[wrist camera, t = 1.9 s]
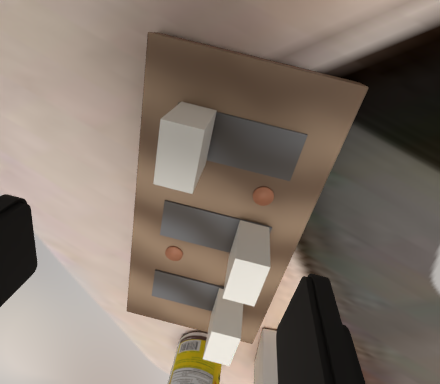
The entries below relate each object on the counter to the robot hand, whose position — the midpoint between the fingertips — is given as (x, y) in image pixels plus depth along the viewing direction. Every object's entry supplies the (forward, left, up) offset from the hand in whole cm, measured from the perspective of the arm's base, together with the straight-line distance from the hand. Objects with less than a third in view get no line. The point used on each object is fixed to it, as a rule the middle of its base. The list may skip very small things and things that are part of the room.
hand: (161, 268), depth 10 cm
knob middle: (+7, +4, -12) cm, 15 cm away
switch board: (+7, +1, -15) cm, 16 cm away
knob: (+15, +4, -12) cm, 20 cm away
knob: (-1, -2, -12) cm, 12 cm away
